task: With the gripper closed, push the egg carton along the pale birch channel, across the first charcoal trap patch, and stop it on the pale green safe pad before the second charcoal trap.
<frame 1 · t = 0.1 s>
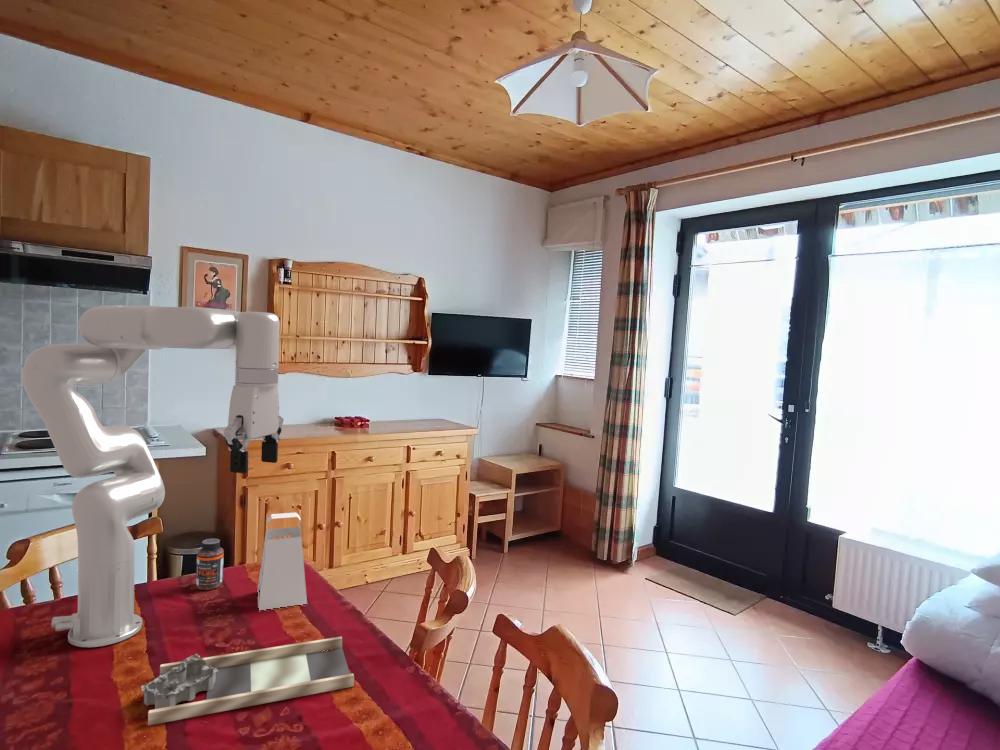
hand: (254, 467, 110), 37 cm above the table, tool pointing down, fingers open, 9 cm apart
egg carton: (181, 694, 100), on the table, touching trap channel
grater: (281, 599, 138), on the table
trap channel: (256, 680, 105), on the table
supplement bottle: (209, 586, 142), on the table
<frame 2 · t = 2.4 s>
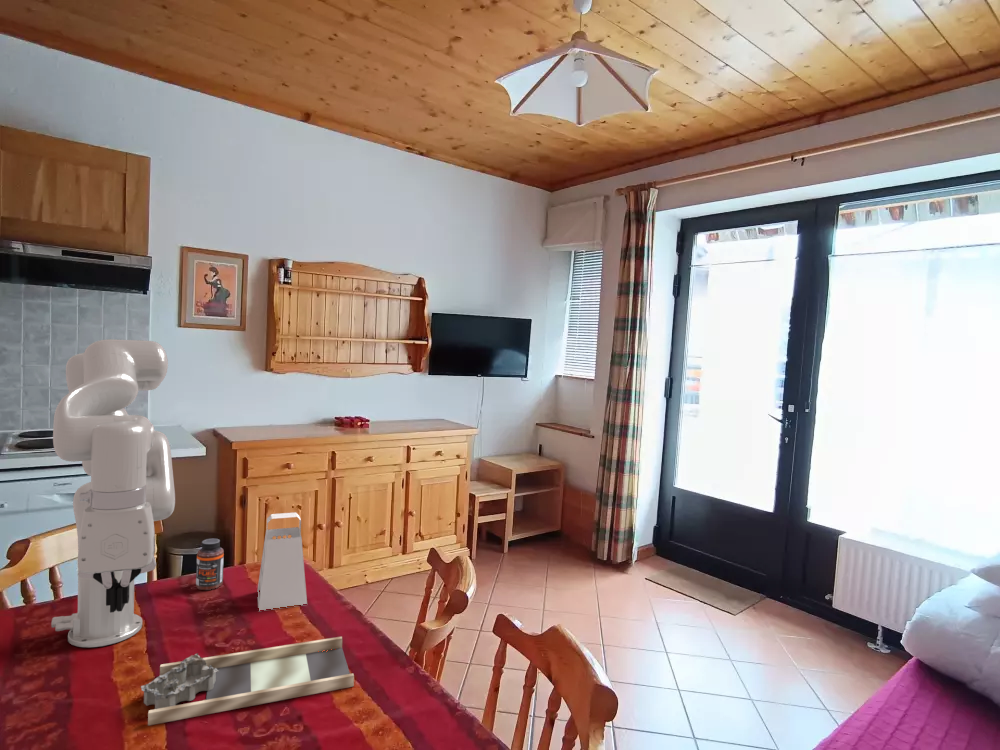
hand: (117, 608, 95), 17 cm above the table, tool pointing down, fingers closed
nothing on the table moved.
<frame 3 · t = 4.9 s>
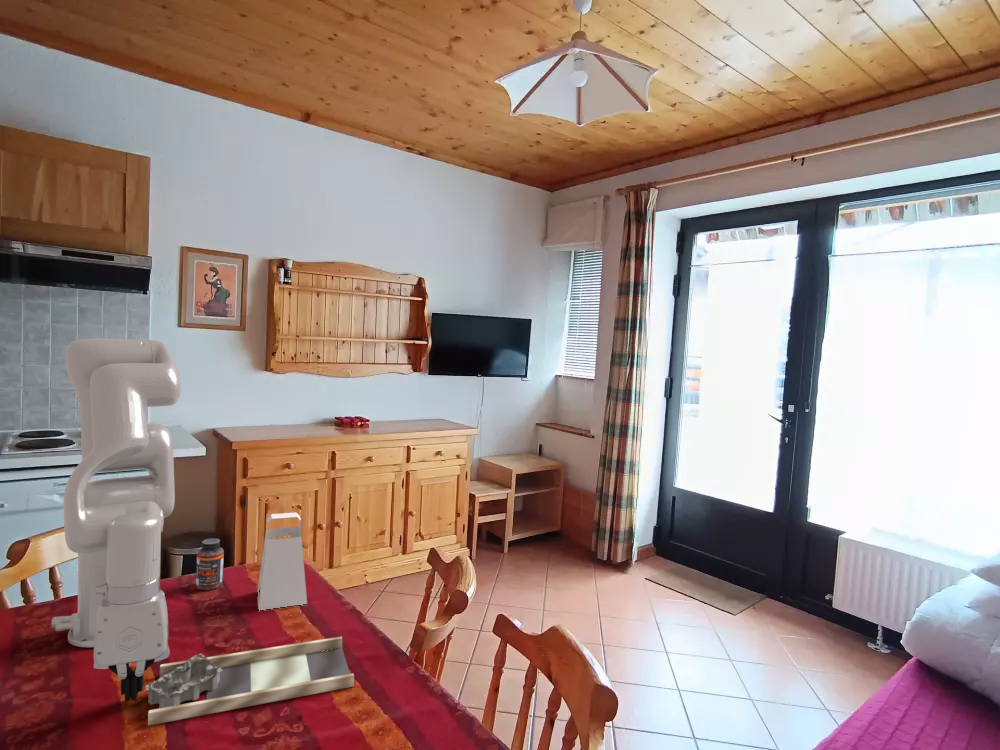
hand: (132, 696, 97), 1 cm above the table, tool pointing down, fingers closed
egg carton: (185, 694, 100), on the table, touching gripper
everything else where it was.
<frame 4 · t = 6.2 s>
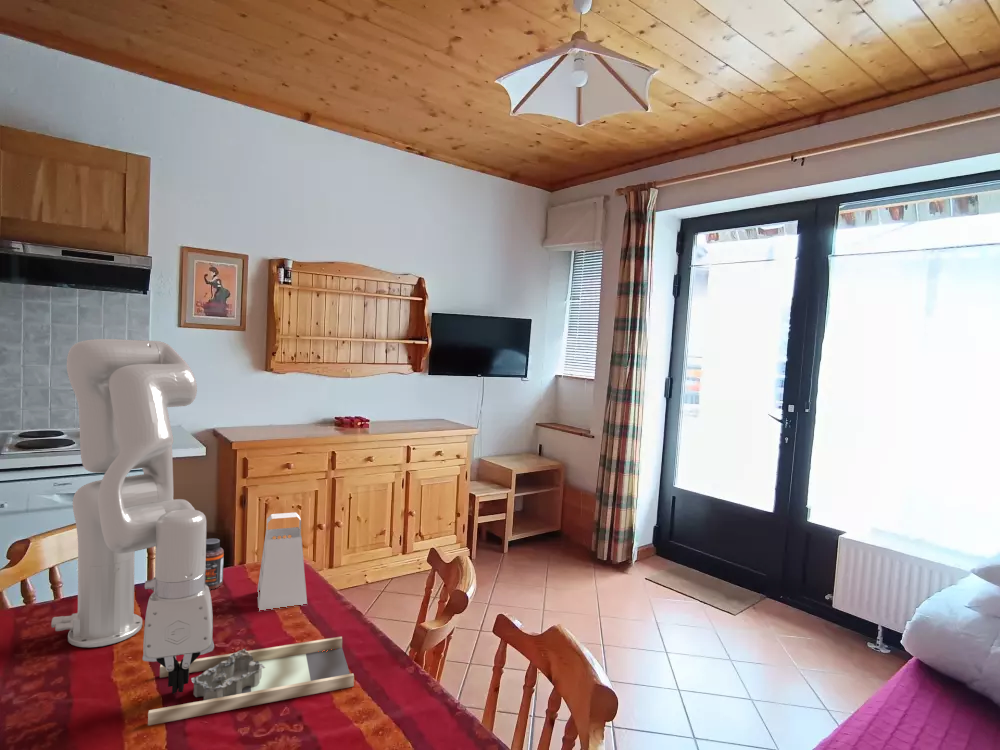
hand: (178, 688, 100), 1 cm above the table, tool pointing down, fingers closed
egg carton: (228, 688, 102), resting on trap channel, touching gripper
everything else where it was.
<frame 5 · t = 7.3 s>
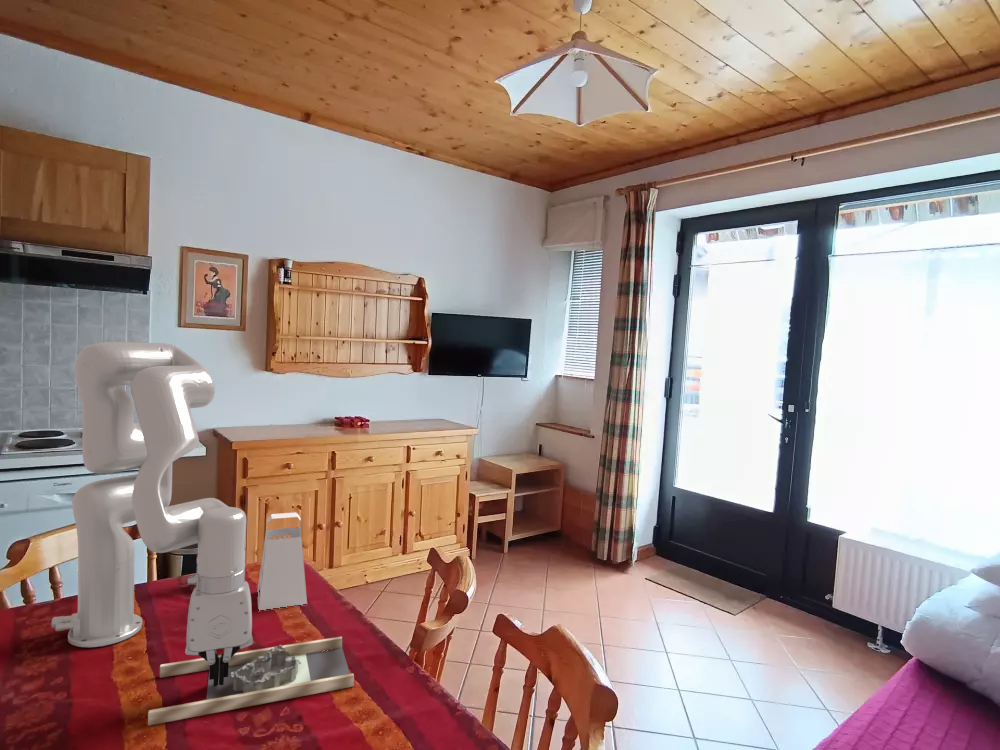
hand: (218, 681, 102), 1 cm above the table, tool pointing down, fingers closed
egg carton: (266, 683, 104), resting on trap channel, touching gripper
everything else where it was.
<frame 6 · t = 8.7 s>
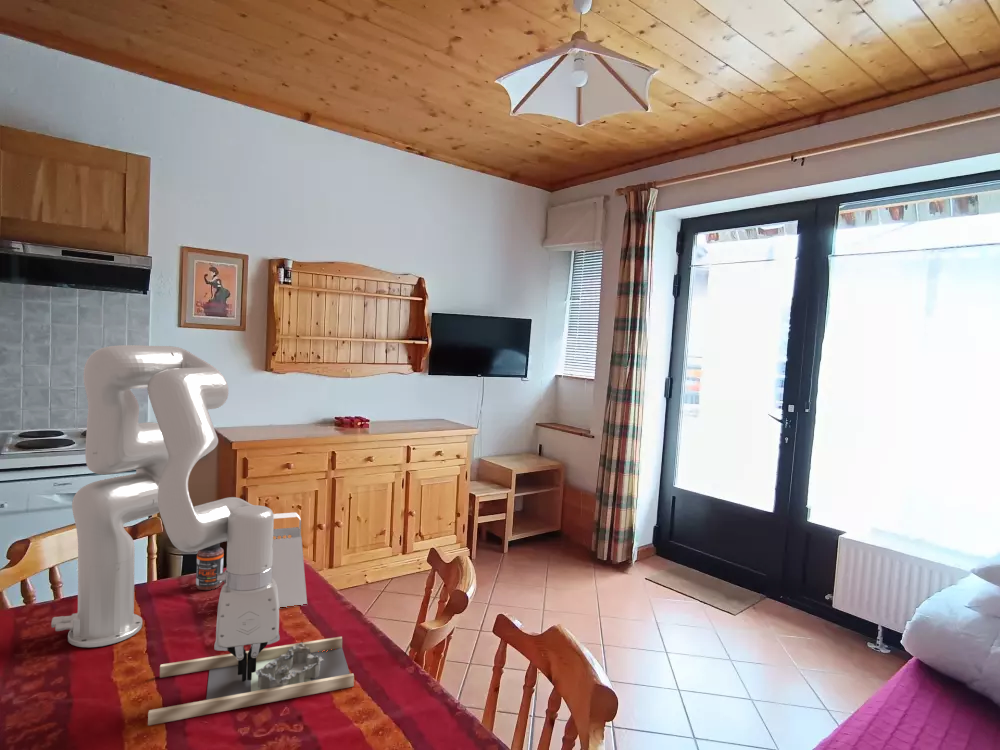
hand: (246, 676, 104), 1 cm above the table, tool pointing down, fingers closed
egg carton: (290, 680, 106), resting on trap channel, touching gripper
everything else where it was.
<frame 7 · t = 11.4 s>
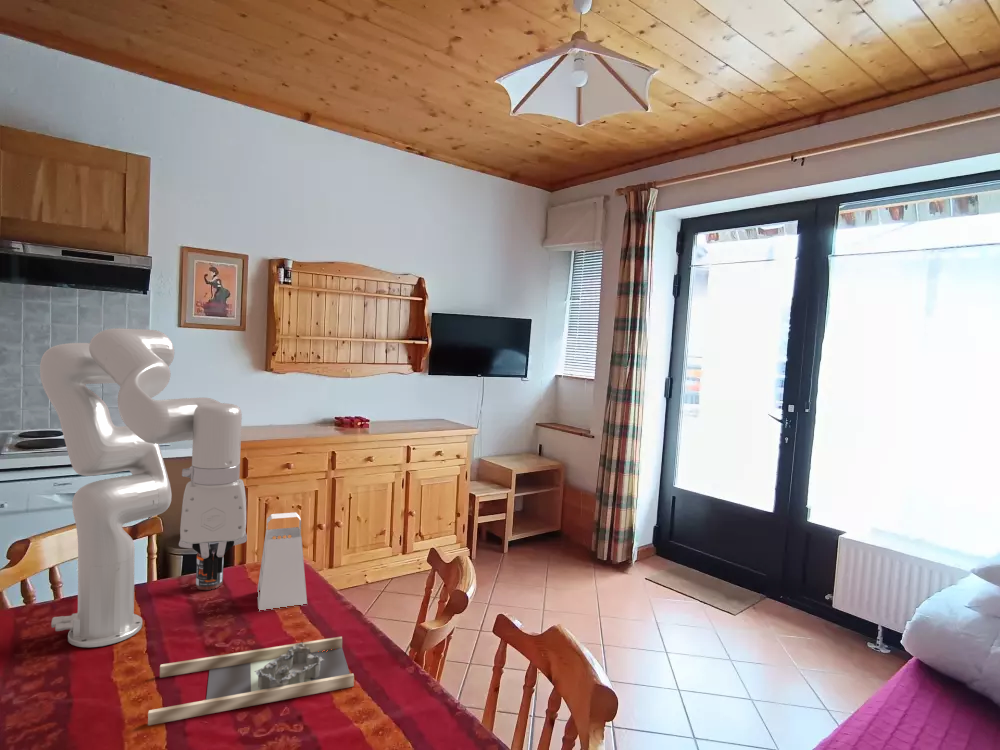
hand: (212, 576, 102), 19 cm above the table, tool pointing down, fingers closed
egg carton: (290, 680, 106), resting on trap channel
everything else where it was.
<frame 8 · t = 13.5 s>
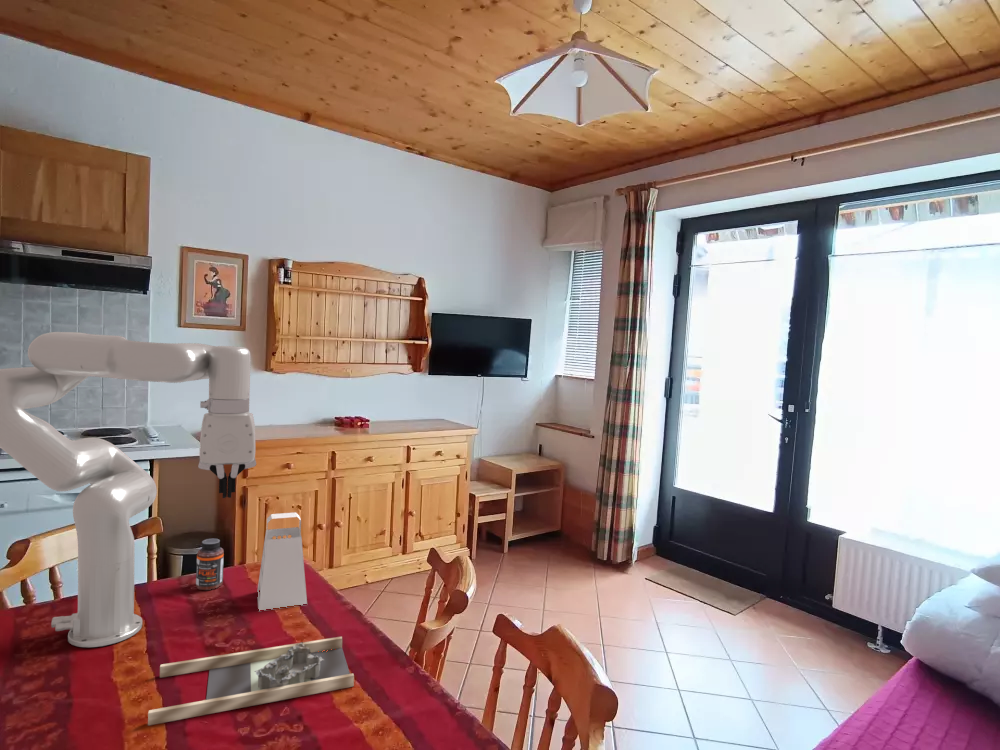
hand: (227, 496, 119), 29 cm above the table, tool pointing down, fingers closed
nothing on the table moved.
at the end: egg carton 2.3 cm from the target spot, resting on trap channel; egg carton tilted 2° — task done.
